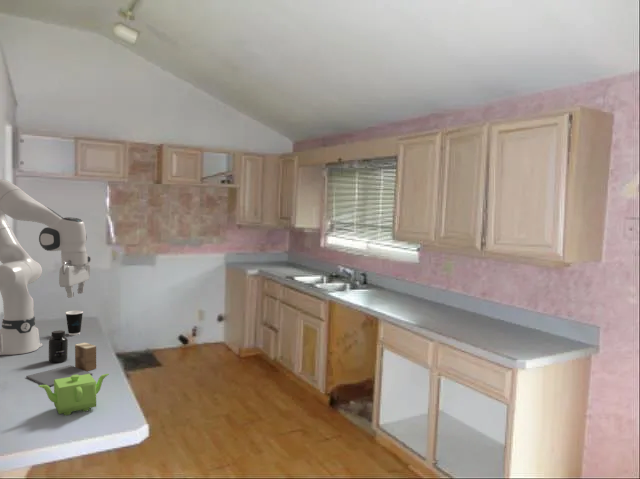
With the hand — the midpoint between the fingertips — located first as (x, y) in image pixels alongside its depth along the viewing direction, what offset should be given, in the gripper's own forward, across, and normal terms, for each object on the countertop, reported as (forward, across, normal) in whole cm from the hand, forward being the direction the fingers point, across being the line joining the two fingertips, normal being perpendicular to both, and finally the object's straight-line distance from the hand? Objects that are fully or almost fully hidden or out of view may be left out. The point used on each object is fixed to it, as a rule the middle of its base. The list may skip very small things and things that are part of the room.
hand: (75, 295), depth 188 cm
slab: (+29, 0, -3) cm, 29 cm away
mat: (+28, -10, +3) cm, 30 cm away
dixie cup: (+28, +52, +22) cm, 64 cm away
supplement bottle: (+28, +9, +12) cm, 32 cm away
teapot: (+30, -40, -15) cm, 52 cm away
